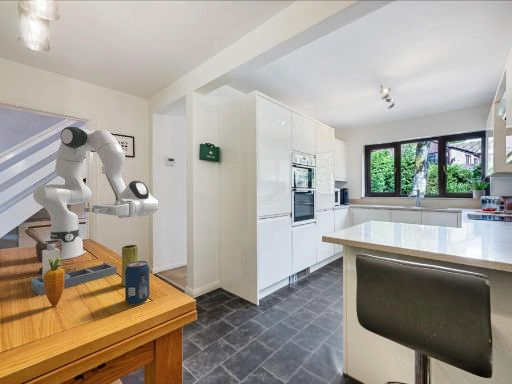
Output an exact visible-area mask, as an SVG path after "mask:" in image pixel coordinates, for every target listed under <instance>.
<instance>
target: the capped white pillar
mask: <svg viewBox="0 0 512 384" xmlns="http://www.w3.org/2000/svg"><path fill="white" fill-rule="evenodd" d="M56 258H60V249H57V248H55V244H48V245H47V250H42V262H41V263H42V264H41V265H42V266H41V267H42V268H43V274H42V276H43V283H44V273H46V272H47V271H48V270H51V267H50V262H49V259H52V261H53V265H54V262H55V260H56ZM58 264H61V261H59V263H58ZM58 264H57V265H58ZM58 268H61V265H60V266H59V267H58Z"/></svg>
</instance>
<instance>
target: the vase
mask: <svg viewBox="0 0 512 384" xmlns="http://www.w3.org/2000/svg"><path fill="white" fill-rule="evenodd" d="M138 253H139V251H138V245H137V244H127V245H123V246H122V247H121V283H120V286H122V287H124V288H125V270H126V268H127V265H128V264H129V263H132V262H136V261H139V259H138V258H139V255H138Z"/></svg>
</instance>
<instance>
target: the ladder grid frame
mask: <svg viewBox="0 0 512 384" xmlns="http://www.w3.org/2000/svg"><path fill="white" fill-rule="evenodd" d="M117 267H118V266H117V265H113V264H110V263H108V262H106V263H105V262H104V263H102V264H97V265H93V266H88V267H84V268H82V269H77V270H72V271H68V272H65V283H64V289H63V290H65V289H68V288H71V287H76V286H78V285H82V284H86V283H88V282H89V283H90V282H93V281H95V280H99V279H103V278H106V277H110V276H113V275H117V274H118V268H117ZM30 286H31V289H30V290H31V291H32V292H34V293H35V294H37V295H38V296H39V297H40V296H42V295H46V292H45V288H44V283H43V275H42V276H37V277H34V278H32V279H31V282H30Z"/></svg>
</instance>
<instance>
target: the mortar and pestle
mask: <svg viewBox="0 0 512 384" xmlns="http://www.w3.org/2000/svg"><path fill="white" fill-rule="evenodd" d="M24 232H25V234H26V235H27V236H28V237H30V239H31V238H32V240H34V241H35V242H36V243H35V254H36V258H37V260H38V261H39V263H42V250H47V245H48V244H55V248H57V249H60V255H61V251H62V247H61V246H62V242H61V240H51V241H50V240H44V239H43V238H42V237H41V235H39V233H38V231H36V229H34V228H33V227H28V228H27V229H26V228H25V230H24ZM38 274H39V275H40V274H41V275H43V268H42V266H41V267H40V268H39V270H38Z"/></svg>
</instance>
